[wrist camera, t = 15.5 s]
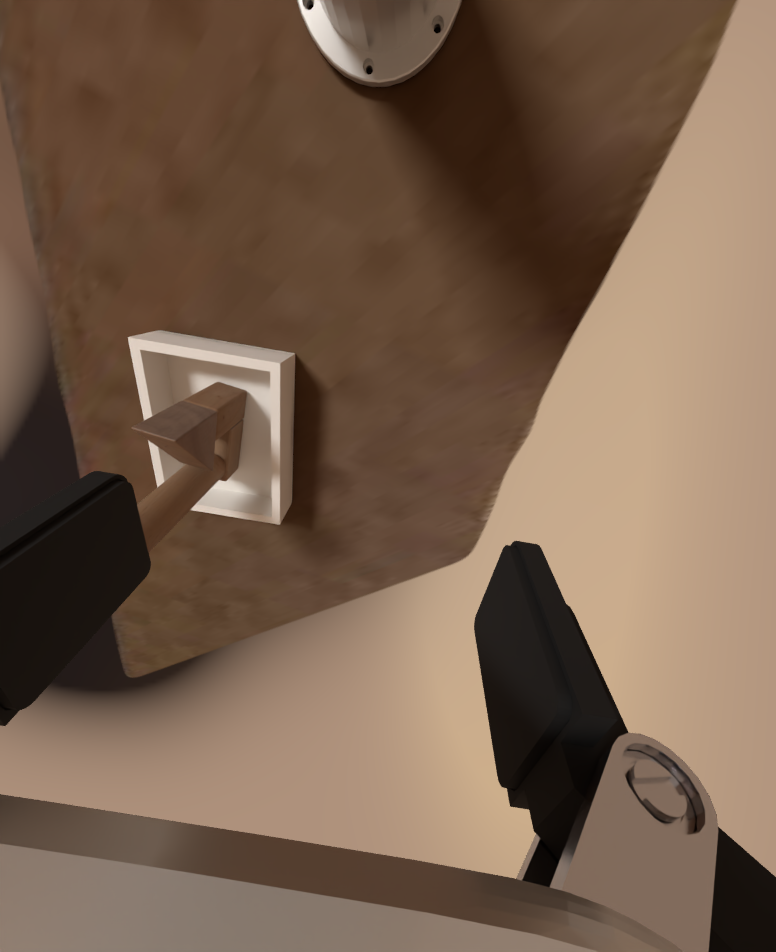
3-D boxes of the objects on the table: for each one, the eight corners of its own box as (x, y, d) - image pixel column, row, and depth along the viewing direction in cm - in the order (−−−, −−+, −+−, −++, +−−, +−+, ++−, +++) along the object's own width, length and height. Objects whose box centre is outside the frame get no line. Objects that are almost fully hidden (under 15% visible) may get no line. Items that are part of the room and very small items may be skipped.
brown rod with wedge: (248, 390, 41) (143, 462, 25) (239, 468, 46) (147, 568, 31) (216, 379, 41) (90, 446, 25) (210, 460, 46) (103, 556, 30)
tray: (159, 330, 39) (127, 337, 35) (295, 353, 40) (280, 363, 35) (183, 484, 49) (161, 504, 45) (292, 502, 49) (279, 524, 45)
